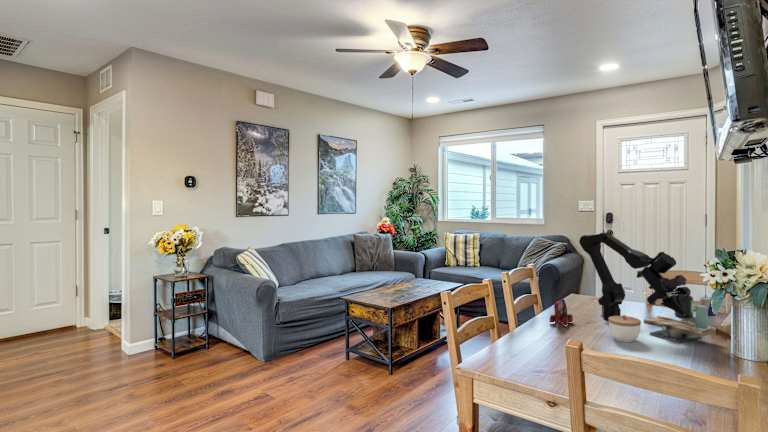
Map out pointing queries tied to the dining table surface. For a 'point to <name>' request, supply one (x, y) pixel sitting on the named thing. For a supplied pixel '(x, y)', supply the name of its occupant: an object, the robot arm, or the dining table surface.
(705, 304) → the energy drink
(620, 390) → the dining table surface
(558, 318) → the dark red irregular piece
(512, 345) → the dining table surface
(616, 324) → the lidded jar
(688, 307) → the supplement bottle
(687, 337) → the beam stand
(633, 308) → the dining table surface
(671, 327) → the balance beam
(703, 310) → the green rectangular block
